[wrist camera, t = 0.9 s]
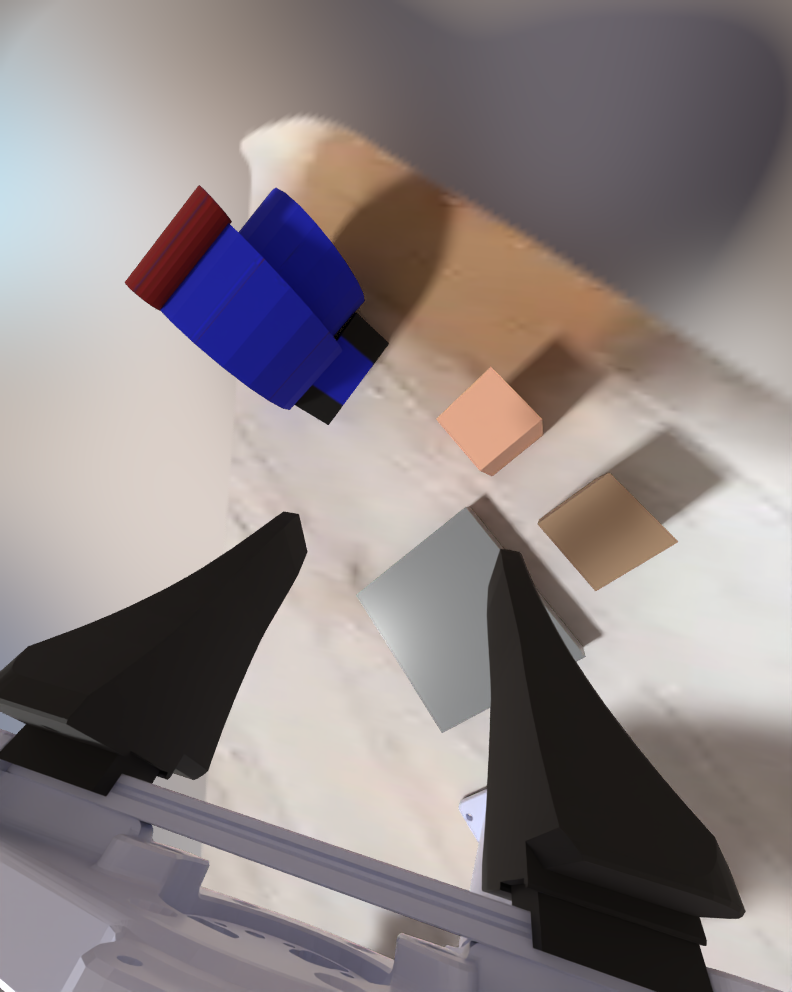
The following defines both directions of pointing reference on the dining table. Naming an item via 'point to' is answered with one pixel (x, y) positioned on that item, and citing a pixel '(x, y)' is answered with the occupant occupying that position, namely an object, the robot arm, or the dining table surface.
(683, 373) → the dining table surface
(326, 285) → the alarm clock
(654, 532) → the walnut block
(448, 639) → the base plate
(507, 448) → the terracotta block
